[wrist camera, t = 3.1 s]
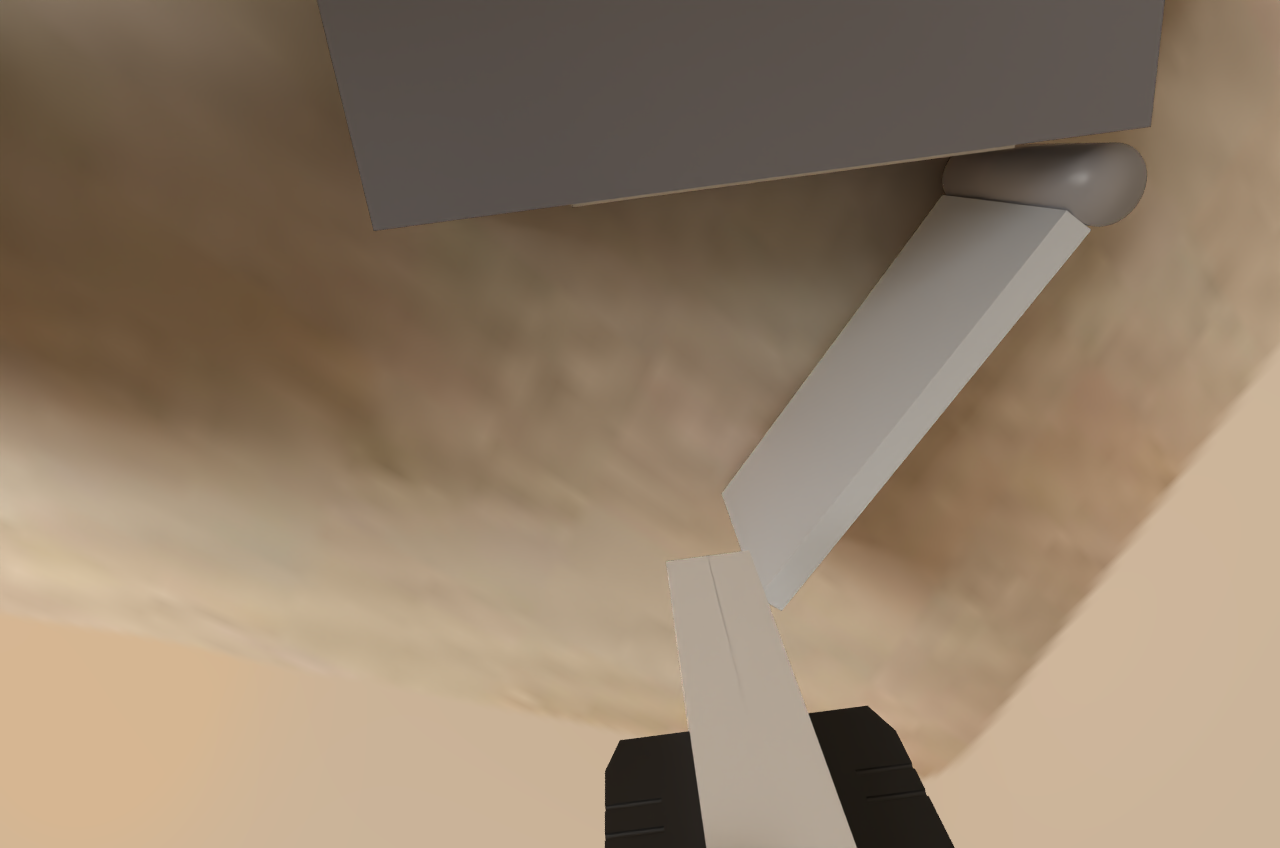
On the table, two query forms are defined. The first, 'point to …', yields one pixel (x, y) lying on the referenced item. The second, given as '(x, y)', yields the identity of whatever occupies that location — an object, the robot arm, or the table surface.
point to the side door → (919, 343)
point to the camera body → (711, 91)
